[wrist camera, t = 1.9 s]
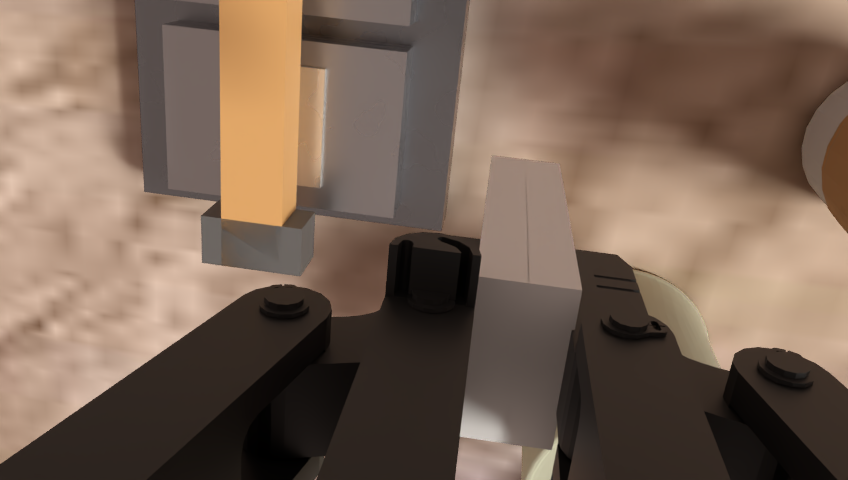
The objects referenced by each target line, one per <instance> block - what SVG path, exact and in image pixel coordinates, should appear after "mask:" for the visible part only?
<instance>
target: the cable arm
mask: <svg viewBox="0 0 848 480" xmlns="http://www.w3.org/2000/svg"><path fill="white" fill-rule="evenodd" d="M301 32H302V0H219V42H220V151H221V199H220V200H219V201H218V202H216V203H215V204H214V205H213V206H212V207H211V208H209V209H208V210H207V211H206V212H205V213H204V214H203V215H201V234H202V263H208V264H215V265H222V266H230V267H237V268H244V269H251V270H258V271H266V272H273V273H280V274H287V275H294V276H301V274H302V273H303V271H304V270H305V268H306V267H307V265H308V264H309V262H310V261H311V259H312V258H313V251H314V227H315V212H313V211H305V210H298V209H296V192H297V160H298V128H299V96H300V64H301Z"/></svg>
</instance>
